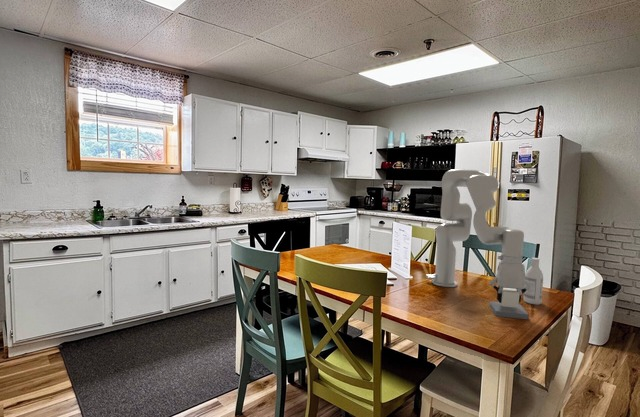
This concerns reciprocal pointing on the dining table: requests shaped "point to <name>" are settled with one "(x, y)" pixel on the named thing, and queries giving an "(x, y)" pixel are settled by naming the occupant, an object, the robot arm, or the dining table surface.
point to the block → (510, 297)
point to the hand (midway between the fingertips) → (508, 302)
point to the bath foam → (534, 283)
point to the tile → (508, 311)
